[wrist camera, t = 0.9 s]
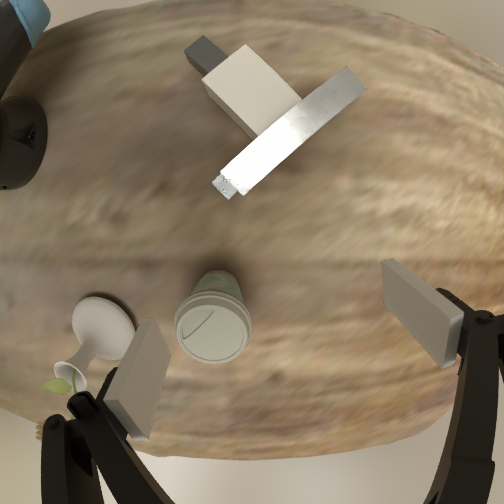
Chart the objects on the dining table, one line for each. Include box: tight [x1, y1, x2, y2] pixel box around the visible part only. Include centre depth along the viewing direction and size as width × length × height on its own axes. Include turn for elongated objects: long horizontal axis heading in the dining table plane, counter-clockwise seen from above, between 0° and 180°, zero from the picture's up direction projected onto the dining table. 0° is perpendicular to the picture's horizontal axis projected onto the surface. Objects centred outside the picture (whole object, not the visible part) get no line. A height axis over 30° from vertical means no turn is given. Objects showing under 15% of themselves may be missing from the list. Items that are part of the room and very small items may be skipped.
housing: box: [212, 66, 367, 199], centre depth 30 cm, size 3×21×11 cm, turn 133°
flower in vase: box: [35, 297, 136, 442], centre depth 30 cm, size 13×11×25 cm
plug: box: [184, 35, 302, 141], centre depth 29 cm, size 16×6×8 cm, turn 43°
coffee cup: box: [174, 270, 252, 364], centre depth 35 cm, size 8×9×12 cm
